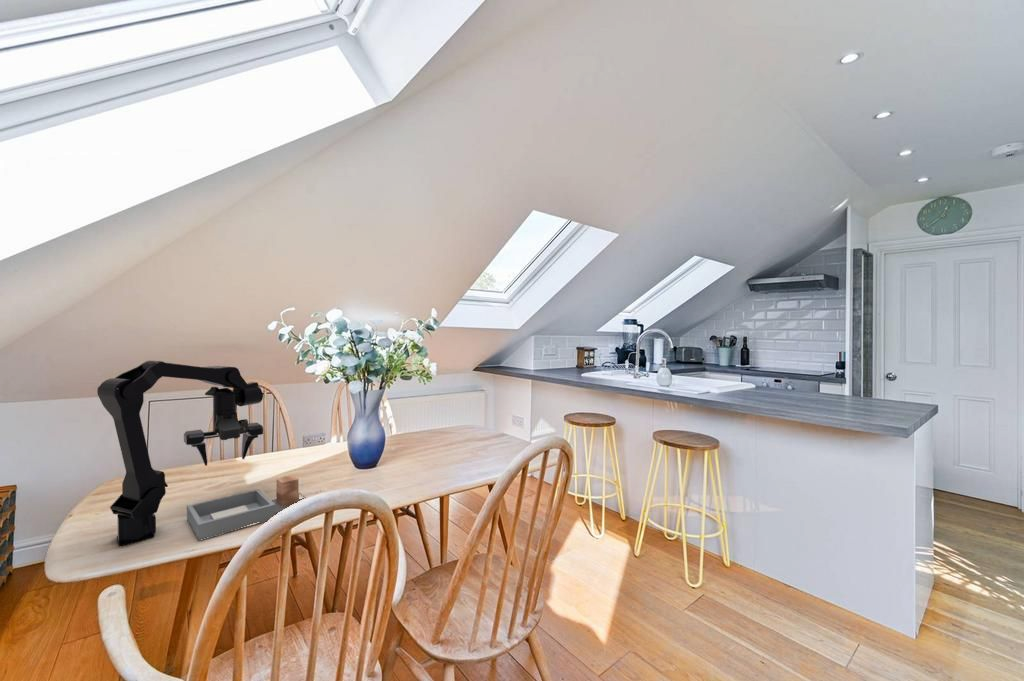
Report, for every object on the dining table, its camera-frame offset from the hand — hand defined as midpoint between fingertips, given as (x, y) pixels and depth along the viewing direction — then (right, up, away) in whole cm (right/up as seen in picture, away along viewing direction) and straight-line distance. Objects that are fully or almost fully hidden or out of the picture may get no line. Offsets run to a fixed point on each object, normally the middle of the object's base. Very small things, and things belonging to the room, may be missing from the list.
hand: (225, 462), depth 125 cm
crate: (+9, -12, -11) cm, 19 cm away
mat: (+19, -12, -1) cm, 22 cm away
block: (+19, -12, -1) cm, 22 cm away
